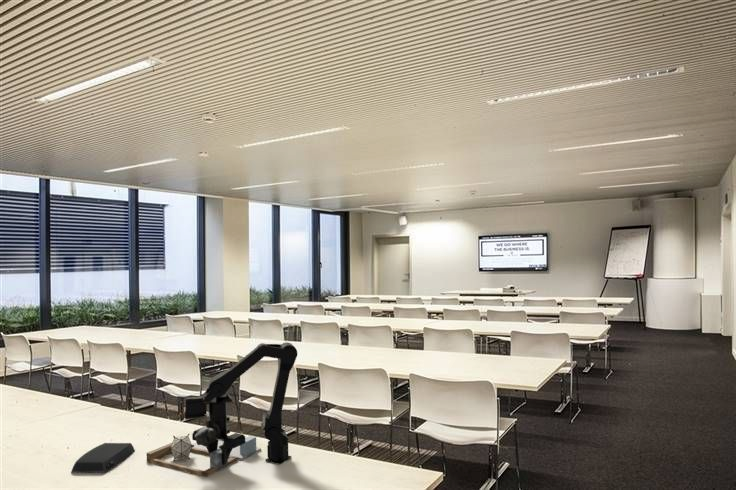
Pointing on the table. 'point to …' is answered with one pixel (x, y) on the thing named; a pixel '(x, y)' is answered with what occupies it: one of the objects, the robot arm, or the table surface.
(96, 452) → the external hard drive
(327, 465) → the table surface
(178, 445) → the game die
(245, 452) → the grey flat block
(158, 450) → the wooden tray frame
